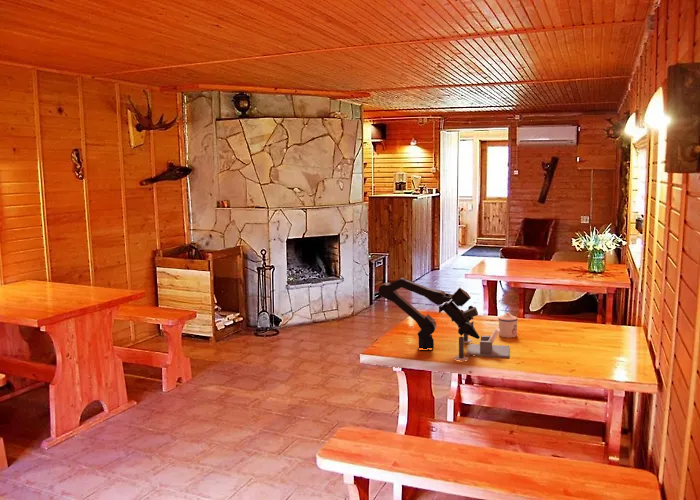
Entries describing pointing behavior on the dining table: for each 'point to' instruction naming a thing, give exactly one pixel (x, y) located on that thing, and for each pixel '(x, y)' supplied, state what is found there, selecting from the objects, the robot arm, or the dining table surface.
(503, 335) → the teacup with lid
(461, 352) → the post
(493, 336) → the block
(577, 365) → the dining table surface
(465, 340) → the post
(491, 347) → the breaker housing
